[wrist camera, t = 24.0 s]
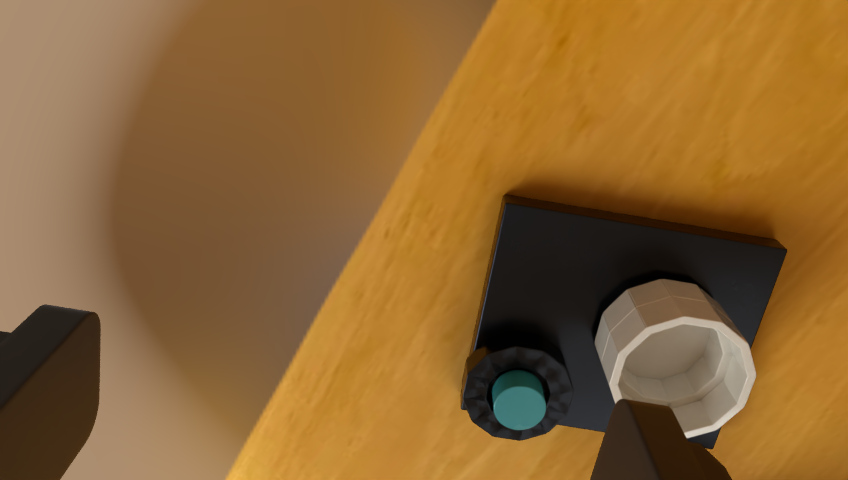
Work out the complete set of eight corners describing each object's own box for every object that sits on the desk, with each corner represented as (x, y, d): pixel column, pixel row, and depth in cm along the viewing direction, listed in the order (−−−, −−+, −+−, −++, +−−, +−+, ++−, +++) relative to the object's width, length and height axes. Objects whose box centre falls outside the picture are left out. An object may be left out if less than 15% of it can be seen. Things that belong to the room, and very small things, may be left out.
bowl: (581, 375, 40) (596, 427, 35) (612, 265, 37) (632, 307, 33) (699, 394, 40) (729, 448, 36) (738, 286, 37) (774, 330, 33)
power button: (487, 408, 39) (488, 426, 38) (497, 365, 38) (499, 382, 37) (536, 416, 39) (539, 434, 38) (547, 373, 38) (551, 390, 37)
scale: (454, 398, 42) (455, 431, 39) (498, 192, 37) (502, 213, 35) (704, 437, 42) (721, 473, 40) (777, 239, 38) (802, 263, 35)
